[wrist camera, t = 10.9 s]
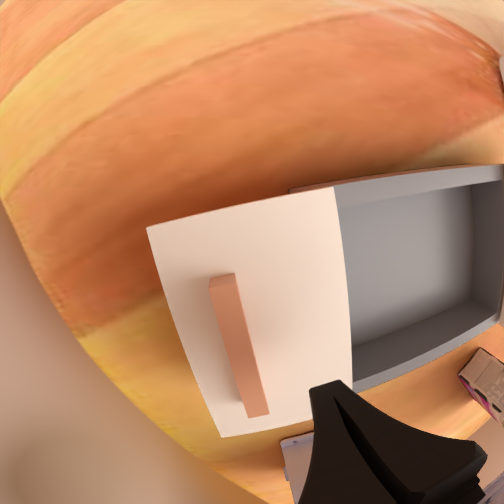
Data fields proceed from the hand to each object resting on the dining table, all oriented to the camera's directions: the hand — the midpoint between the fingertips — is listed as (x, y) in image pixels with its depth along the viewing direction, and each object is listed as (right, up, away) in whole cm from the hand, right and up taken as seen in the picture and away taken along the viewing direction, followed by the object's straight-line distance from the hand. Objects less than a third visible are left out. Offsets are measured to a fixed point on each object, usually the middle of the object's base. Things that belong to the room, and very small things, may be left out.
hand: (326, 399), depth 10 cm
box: (+10, +6, +10) cm, 15 cm away
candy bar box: (+27, -10, +16) cm, 33 cm away
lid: (-2, +2, +5) cm, 5 cm away
